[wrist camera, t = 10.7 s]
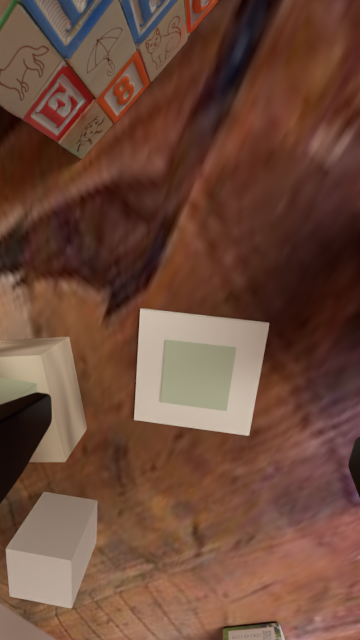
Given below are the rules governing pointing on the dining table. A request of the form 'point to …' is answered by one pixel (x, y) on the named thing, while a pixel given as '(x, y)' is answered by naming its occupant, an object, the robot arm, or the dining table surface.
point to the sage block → (15, 389)
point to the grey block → (52, 549)
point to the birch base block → (49, 390)
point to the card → (198, 370)
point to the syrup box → (254, 632)
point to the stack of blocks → (86, 60)
